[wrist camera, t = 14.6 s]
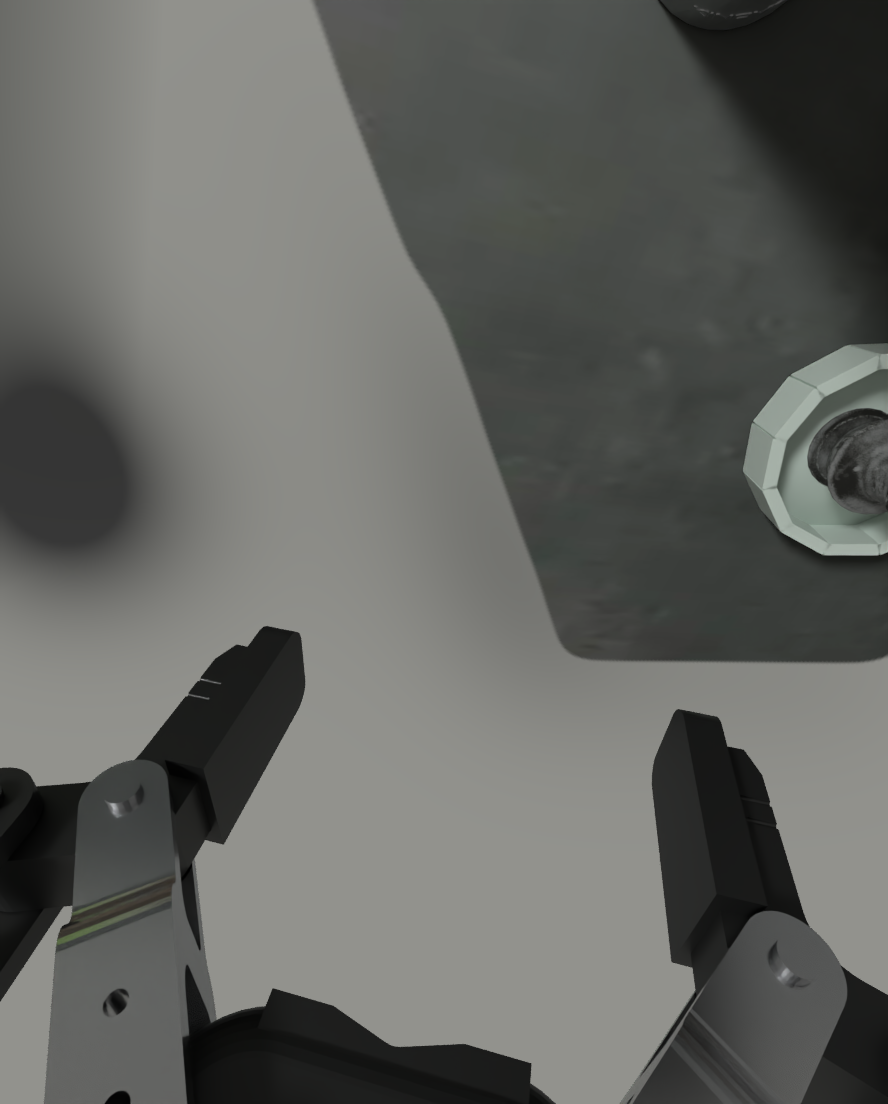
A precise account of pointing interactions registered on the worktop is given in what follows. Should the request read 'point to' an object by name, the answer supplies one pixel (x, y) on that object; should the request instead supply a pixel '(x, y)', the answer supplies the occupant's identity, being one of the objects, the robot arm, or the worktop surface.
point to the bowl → (783, 446)
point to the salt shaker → (853, 460)
